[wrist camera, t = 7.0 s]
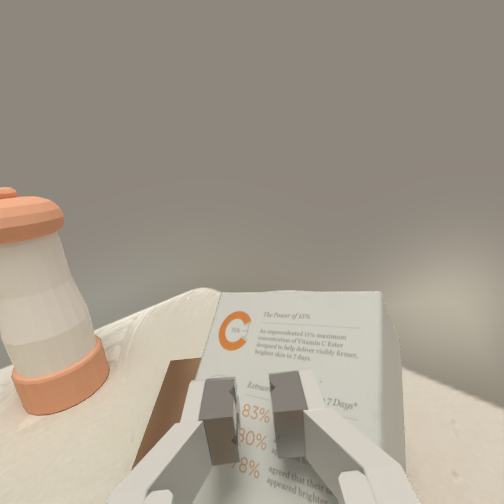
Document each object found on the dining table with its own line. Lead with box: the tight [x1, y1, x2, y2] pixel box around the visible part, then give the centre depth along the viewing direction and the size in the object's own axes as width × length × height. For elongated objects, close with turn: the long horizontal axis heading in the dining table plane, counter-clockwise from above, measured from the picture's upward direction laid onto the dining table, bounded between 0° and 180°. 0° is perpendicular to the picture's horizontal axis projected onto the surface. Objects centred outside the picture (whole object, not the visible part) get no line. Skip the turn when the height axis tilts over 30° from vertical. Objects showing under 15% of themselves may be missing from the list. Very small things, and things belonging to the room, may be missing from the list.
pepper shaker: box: [0, 187, 109, 415], centre depth 25 cm, size 7×7×19 cm
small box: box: [192, 291, 406, 504], centre depth 12 cm, size 8×6×13 cm
